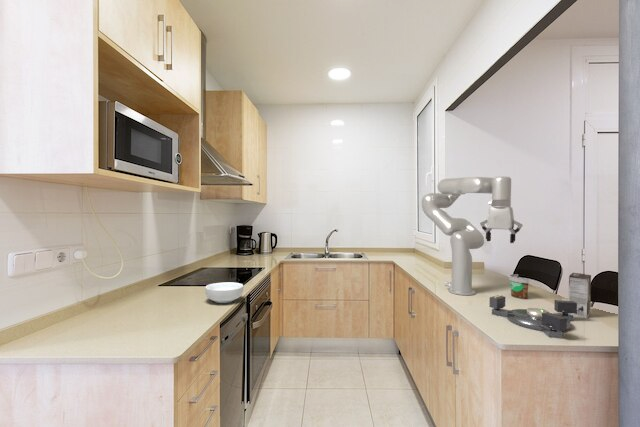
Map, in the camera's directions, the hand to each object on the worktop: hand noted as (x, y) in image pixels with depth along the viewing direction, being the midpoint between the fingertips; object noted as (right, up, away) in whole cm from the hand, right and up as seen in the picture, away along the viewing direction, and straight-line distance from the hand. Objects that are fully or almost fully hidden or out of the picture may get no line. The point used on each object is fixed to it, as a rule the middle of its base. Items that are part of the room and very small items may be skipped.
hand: (500, 241), depth 151 cm
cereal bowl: (-125, -27, +1) cm, 128 cm away
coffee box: (+26, -29, -13) cm, 41 cm away
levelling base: (-1, -28, -22) cm, 36 cm away
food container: (+15, -28, +14) cm, 35 cm away
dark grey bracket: (-9, -25, -14) cm, 30 cm away
